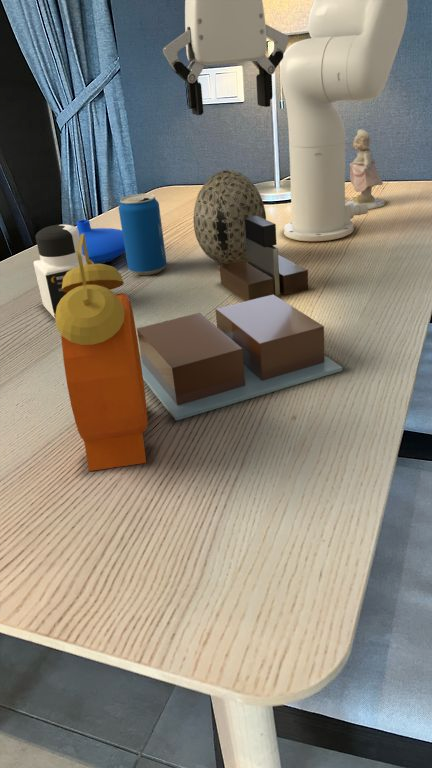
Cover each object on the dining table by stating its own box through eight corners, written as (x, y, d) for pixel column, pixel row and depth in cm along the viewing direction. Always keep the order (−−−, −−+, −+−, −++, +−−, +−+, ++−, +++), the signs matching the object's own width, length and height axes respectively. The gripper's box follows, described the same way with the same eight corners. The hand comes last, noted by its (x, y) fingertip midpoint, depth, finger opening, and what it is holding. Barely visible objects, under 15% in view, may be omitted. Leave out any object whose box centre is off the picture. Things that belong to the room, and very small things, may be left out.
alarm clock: (153, 471, 61) (118, 261, 52) (85, 481, 61) (38, 271, 51) (147, 401, 73) (118, 218, 63) (90, 409, 72) (53, 226, 63)
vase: (100, 242, 130) (93, 205, 126) (151, 255, 119) (146, 215, 116) (28, 265, 120) (19, 227, 117) (78, 281, 110) (69, 239, 107)
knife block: (276, 271, 106) (275, 252, 104) (308, 289, 98) (308, 269, 96) (221, 284, 103) (219, 265, 101) (249, 304, 95) (248, 284, 93)
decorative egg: (274, 251, 115) (269, 161, 107) (260, 275, 105) (254, 177, 98) (209, 252, 118) (200, 164, 111) (189, 275, 108) (178, 180, 101)
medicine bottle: (55, 320, 96) (37, 238, 90) (42, 305, 102) (24, 228, 96) (102, 308, 99) (87, 227, 93) (87, 294, 104) (72, 218, 99)
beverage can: (161, 276, 109) (151, 202, 103) (123, 277, 110) (111, 203, 104) (171, 263, 114) (162, 192, 108) (135, 264, 116) (124, 193, 110)
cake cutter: (256, 277, 104) (252, 213, 100) (284, 294, 97) (280, 226, 92) (244, 280, 104) (239, 215, 99) (271, 297, 96) (268, 228, 91)
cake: (274, 323, 88) (273, 287, 86) (342, 371, 75) (342, 330, 72) (129, 362, 82) (123, 324, 79) (175, 421, 69) (169, 378, 66)
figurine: (319, 203, 138) (334, 126, 134) (349, 208, 144) (365, 135, 140) (360, 210, 130) (378, 129, 126) (390, 215, 137) (408, 138, 133)
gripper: (274, -37, 89) (279, 101, 97) (148, -28, 85) (164, 115, 93) (297, -44, 83) (300, 104, 91) (162, -35, 79) (177, 120, 87)
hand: (231, 110), depth 92 cm, fingers open, 9 cm apart
